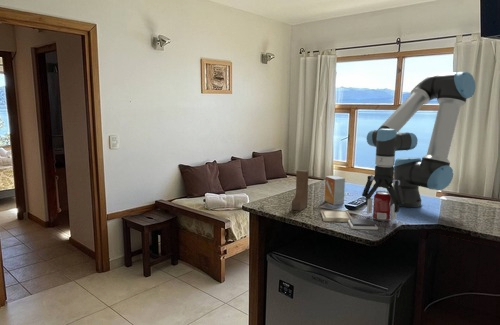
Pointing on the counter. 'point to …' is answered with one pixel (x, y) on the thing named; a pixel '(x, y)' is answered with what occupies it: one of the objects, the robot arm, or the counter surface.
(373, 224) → the pad
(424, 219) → the counter surface
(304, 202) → the wooden block
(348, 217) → the board
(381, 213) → the soda can
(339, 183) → the small box
